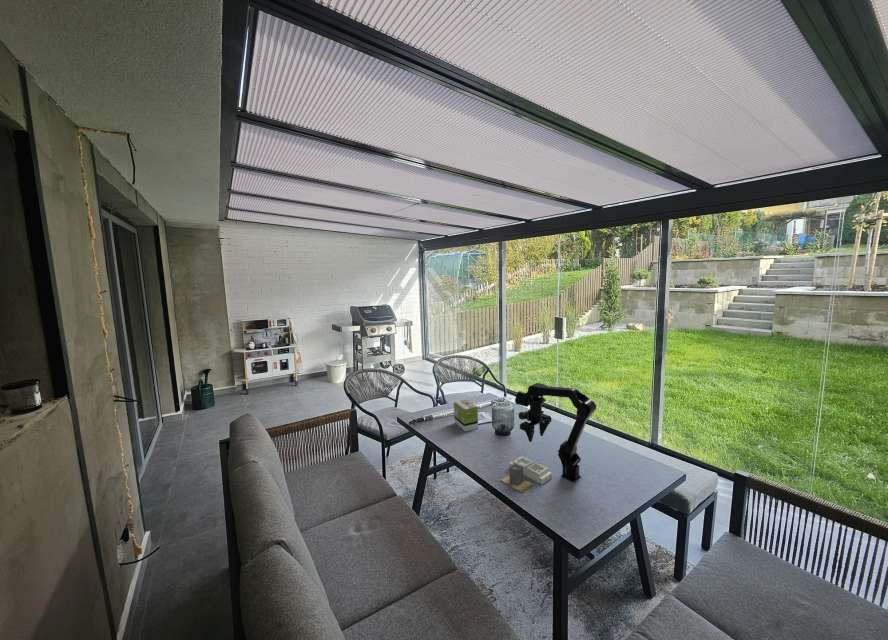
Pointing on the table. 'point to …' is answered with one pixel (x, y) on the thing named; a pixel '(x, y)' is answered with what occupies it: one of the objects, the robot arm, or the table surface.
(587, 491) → the table surface
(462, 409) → the tea box
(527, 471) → the power strip
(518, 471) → the block
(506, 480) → the cork pad
